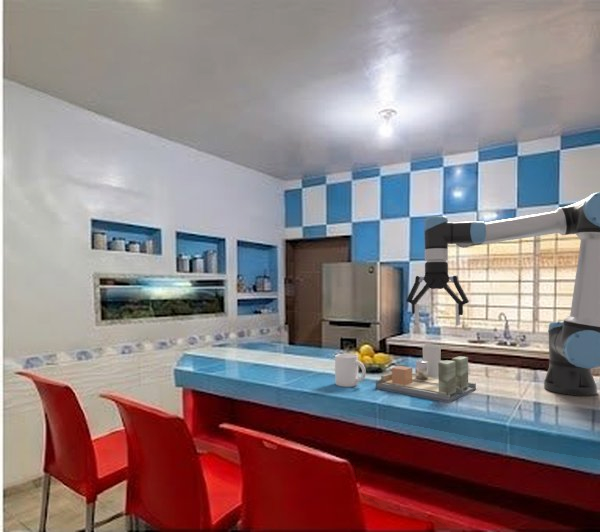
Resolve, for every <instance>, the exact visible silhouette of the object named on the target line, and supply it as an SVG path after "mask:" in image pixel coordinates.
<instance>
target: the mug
mask: <svg viewBox="0 0 600 532" xmlns="http://www.w3.org/2000/svg"><path fill="white" fill-rule="evenodd" d="M359 367H360V369H361V376H360V377H359ZM366 374H367V371H366V367H365V365H364V363H363V362H361V361H360V360H359V355H357V354H356V353H355V354H353V353H338V354H335V355H334V380H335V385H336V386H338V387H343V388H352V387H356V386H358V385H359V383H361V382H363V381H364V380H365V378H366Z"/></svg>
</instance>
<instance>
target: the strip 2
mask: <svg viewBox="0 0 600 532" xmlns="http://www.w3.org/2000/svg"><path fill="white" fill-rule="evenodd" d="M451 361H455V374H456V388H461V389H465V388H467V387H468V382H469V357H468V356H461V355H459V356H455V357H452V358H451ZM412 380H413V381H419V382H425V383H431V384H437V385H439V379H438V378H431V377H428V379H427V380H419V379H416V375H412Z"/></svg>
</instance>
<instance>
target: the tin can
mask: <svg viewBox="0 0 600 532" xmlns="http://www.w3.org/2000/svg"><path fill="white" fill-rule="evenodd" d="M414 362H415V363H414V366H415V372H414V374H416V379H419V380H427V379H428V361H423V360H415V361H414Z"/></svg>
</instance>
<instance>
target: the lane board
mask: <svg viewBox="0 0 600 532" xmlns="http://www.w3.org/2000/svg"><path fill="white" fill-rule="evenodd" d="M412 375H416V374H415V373H412ZM428 377H431V376H428ZM431 378H438V377H431ZM412 382H418V383H424V384H430V385H436V386H439V385H437V384H431V383H425V382H419V381H413V380H412ZM375 389H378V390H383V391H388V392H392V393H397V394H403V395H408V396H414V397H418V398H425V399H428V400H434V401H440V402H444V403H451V402H453V401H454V400H457V399H460V398H461V397H464V396H465V395H467V394H469V393H471V392H474V391H476V390H475V389H477V383H476V382H475V383H474V382H469V381H468V387H467V388H465V389H461V388H456V393H454V394H452V395H446V394H441V393H435V392H430V391H424V390H419V389H413V388H408V387H402V386H396V385H391V384H385V383H381V378H379V379H376V380H375ZM473 390H474V391H473Z"/></svg>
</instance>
